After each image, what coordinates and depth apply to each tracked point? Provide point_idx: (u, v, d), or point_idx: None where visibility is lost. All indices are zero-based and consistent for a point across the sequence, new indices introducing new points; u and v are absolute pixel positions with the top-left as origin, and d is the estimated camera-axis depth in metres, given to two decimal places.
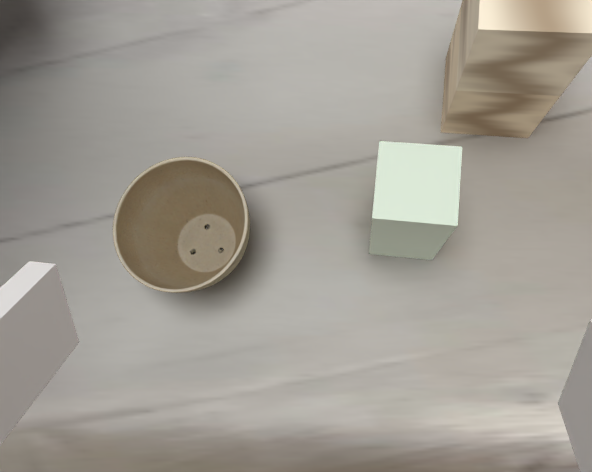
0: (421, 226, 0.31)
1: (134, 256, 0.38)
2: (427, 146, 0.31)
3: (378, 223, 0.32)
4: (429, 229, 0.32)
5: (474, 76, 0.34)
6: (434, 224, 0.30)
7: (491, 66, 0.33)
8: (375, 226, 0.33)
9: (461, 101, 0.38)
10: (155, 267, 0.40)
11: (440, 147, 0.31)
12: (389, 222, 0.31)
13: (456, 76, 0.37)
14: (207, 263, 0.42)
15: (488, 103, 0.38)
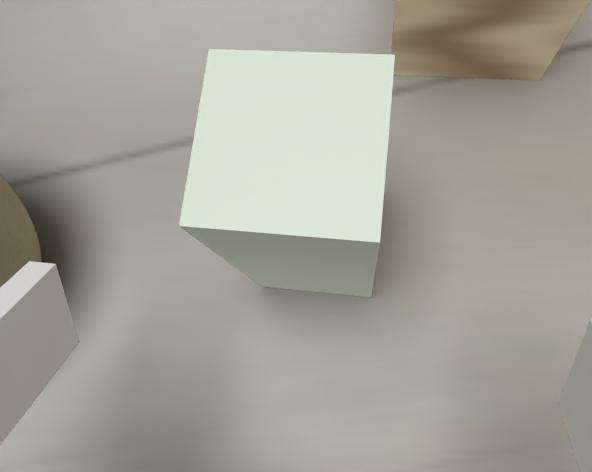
0: (302, 244, 0.13)
1: None
2: (315, 56, 0.13)
3: (206, 236, 0.14)
4: (324, 249, 0.14)
5: None
6: (327, 240, 0.13)
7: None
8: (210, 243, 0.15)
9: None
10: None
11: (344, 58, 0.13)
12: (225, 234, 0.13)
13: None
14: None
15: (465, 2, 0.20)
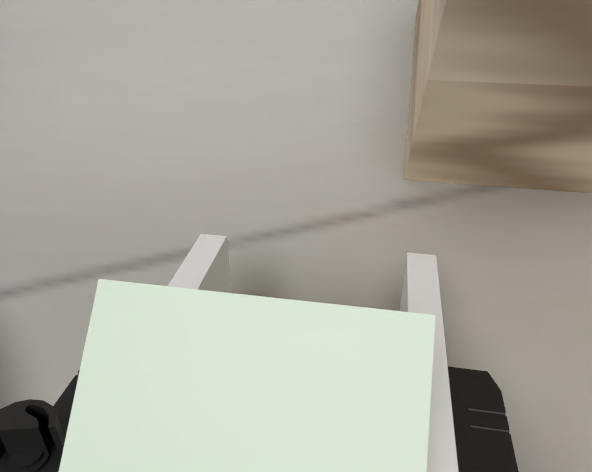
0: None
1: None
2: (287, 309, 0.07)
3: None
4: None
5: (483, 29, 0.10)
6: None
7: None
8: None
9: (445, 111, 0.14)
10: None
11: (341, 315, 0.07)
12: None
13: (429, 40, 0.13)
14: None
15: (520, 117, 0.13)
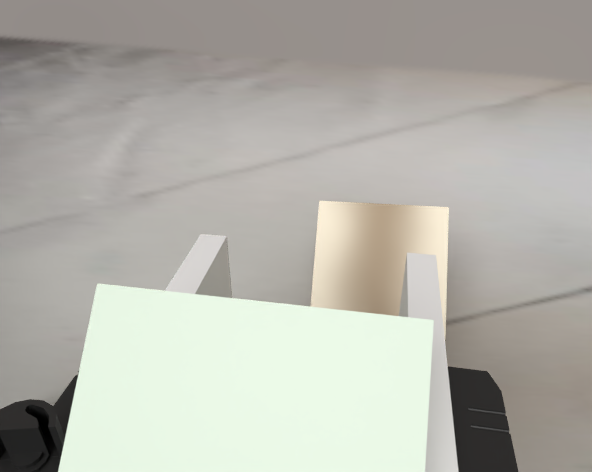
0: None
1: None
2: (285, 314, 0.07)
3: None
4: None
5: None
6: None
7: None
8: None
9: None
10: None
11: (339, 320, 0.07)
12: None
13: None
14: None
15: None
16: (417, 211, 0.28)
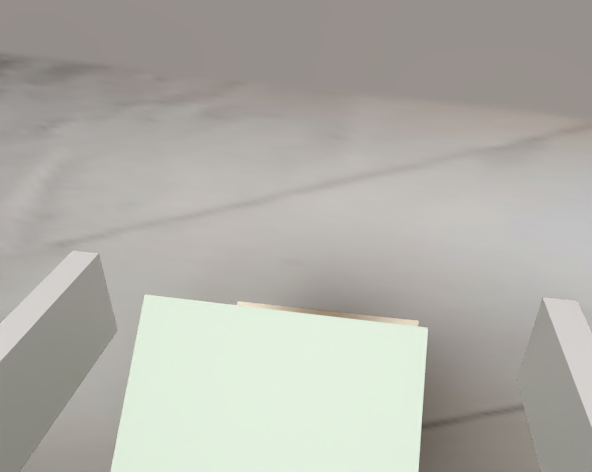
0: None
1: None
2: (304, 321, 0.09)
3: None
4: None
5: None
6: None
7: None
8: None
9: None
10: None
11: (349, 327, 0.09)
12: None
13: None
14: None
15: None
16: None
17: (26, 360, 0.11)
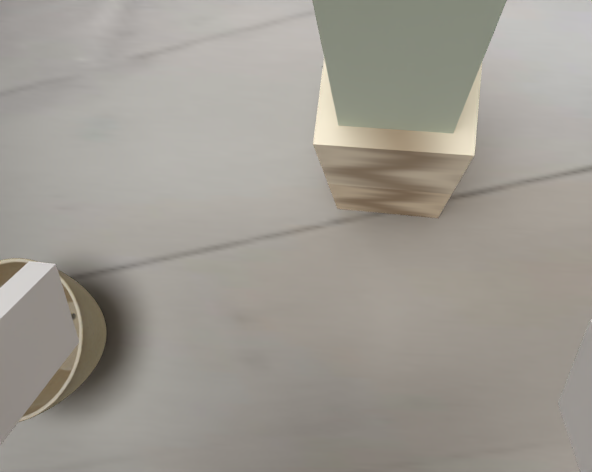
0: None
1: None
2: None
3: None
4: None
5: (340, 176, 0.28)
6: None
7: (353, 170, 0.26)
8: (322, 4, 0.14)
9: (341, 191, 0.31)
10: None
11: None
12: None
13: None
14: (71, 360, 0.38)
15: (373, 194, 0.31)
16: None
17: None
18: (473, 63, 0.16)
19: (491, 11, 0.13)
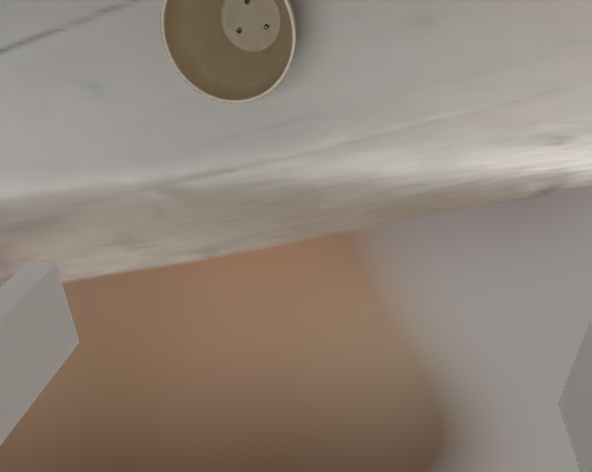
0: None
1: (190, 62, 0.40)
2: None
3: None
4: None
5: None
6: None
7: None
8: None
9: None
10: (210, 64, 0.42)
11: None
12: None
13: None
14: (255, 42, 0.43)
15: None
16: None
17: None
18: None
19: None
